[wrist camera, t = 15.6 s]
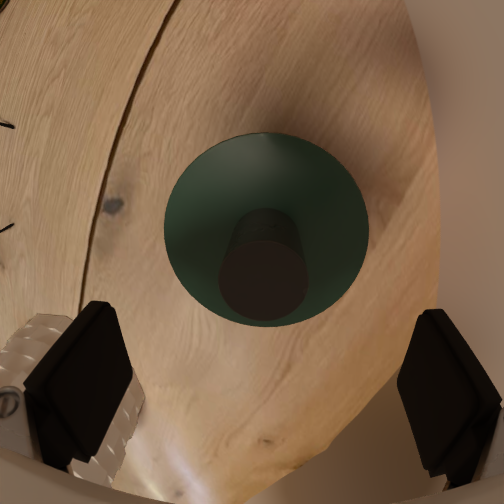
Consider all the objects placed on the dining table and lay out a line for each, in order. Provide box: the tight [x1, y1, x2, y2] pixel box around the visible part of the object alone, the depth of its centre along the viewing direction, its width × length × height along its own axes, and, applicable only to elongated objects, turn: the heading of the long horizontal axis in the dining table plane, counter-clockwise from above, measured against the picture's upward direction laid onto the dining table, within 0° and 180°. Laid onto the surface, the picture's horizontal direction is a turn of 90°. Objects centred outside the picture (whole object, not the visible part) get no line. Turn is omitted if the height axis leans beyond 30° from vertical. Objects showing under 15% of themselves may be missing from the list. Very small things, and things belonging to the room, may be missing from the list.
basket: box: [0, 314, 145, 488], centre depth 33 cm, size 25×24×19 cm
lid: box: [164, 132, 369, 327], centre depth 17 cm, size 13×13×7 cm
